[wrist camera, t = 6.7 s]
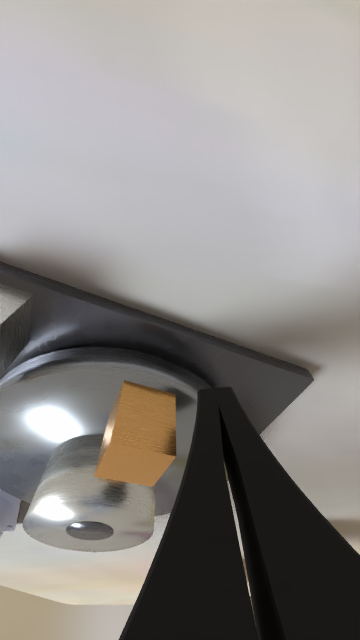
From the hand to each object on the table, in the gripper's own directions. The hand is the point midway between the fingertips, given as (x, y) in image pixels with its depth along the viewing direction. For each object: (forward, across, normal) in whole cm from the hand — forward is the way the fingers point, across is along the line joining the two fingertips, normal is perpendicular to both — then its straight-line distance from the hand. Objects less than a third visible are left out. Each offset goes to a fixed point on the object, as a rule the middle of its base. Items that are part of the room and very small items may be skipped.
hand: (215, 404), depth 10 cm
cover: (+1, +6, +6) cm, 9 cm away
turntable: (+3, +6, +6) cm, 9 cm away
